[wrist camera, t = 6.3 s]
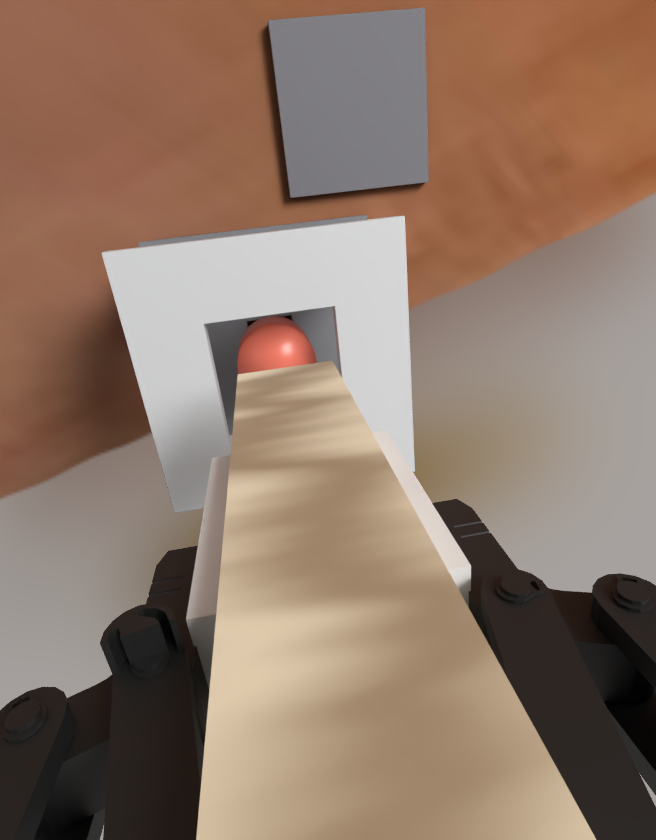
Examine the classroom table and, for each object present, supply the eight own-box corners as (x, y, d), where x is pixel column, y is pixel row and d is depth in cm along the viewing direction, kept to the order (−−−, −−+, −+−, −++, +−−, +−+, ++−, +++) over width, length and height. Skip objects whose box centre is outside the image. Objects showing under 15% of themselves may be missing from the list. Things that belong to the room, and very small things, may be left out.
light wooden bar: (253, 459, 22) (260, 1201, 5) (237, 374, 20) (175, 1064, 4) (341, 444, 22) (597, 1101, 6) (332, 360, 21) (649, 935, 4)
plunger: (245, 379, 33) (245, 408, 28) (233, 313, 31) (230, 332, 26) (310, 369, 33) (321, 397, 28) (302, 304, 31) (311, 321, 26)
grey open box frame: (192, 438, 37) (174, 513, 27) (144, 240, 31) (101, 252, 22) (374, 409, 38) (414, 471, 29) (360, 215, 32) (404, 215, 23)
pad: (289, 198, 31) (290, 197, 31) (268, 24, 28) (268, 20, 27) (425, 182, 32) (428, 182, 31) (421, 11, 28) (424, 7, 28)
